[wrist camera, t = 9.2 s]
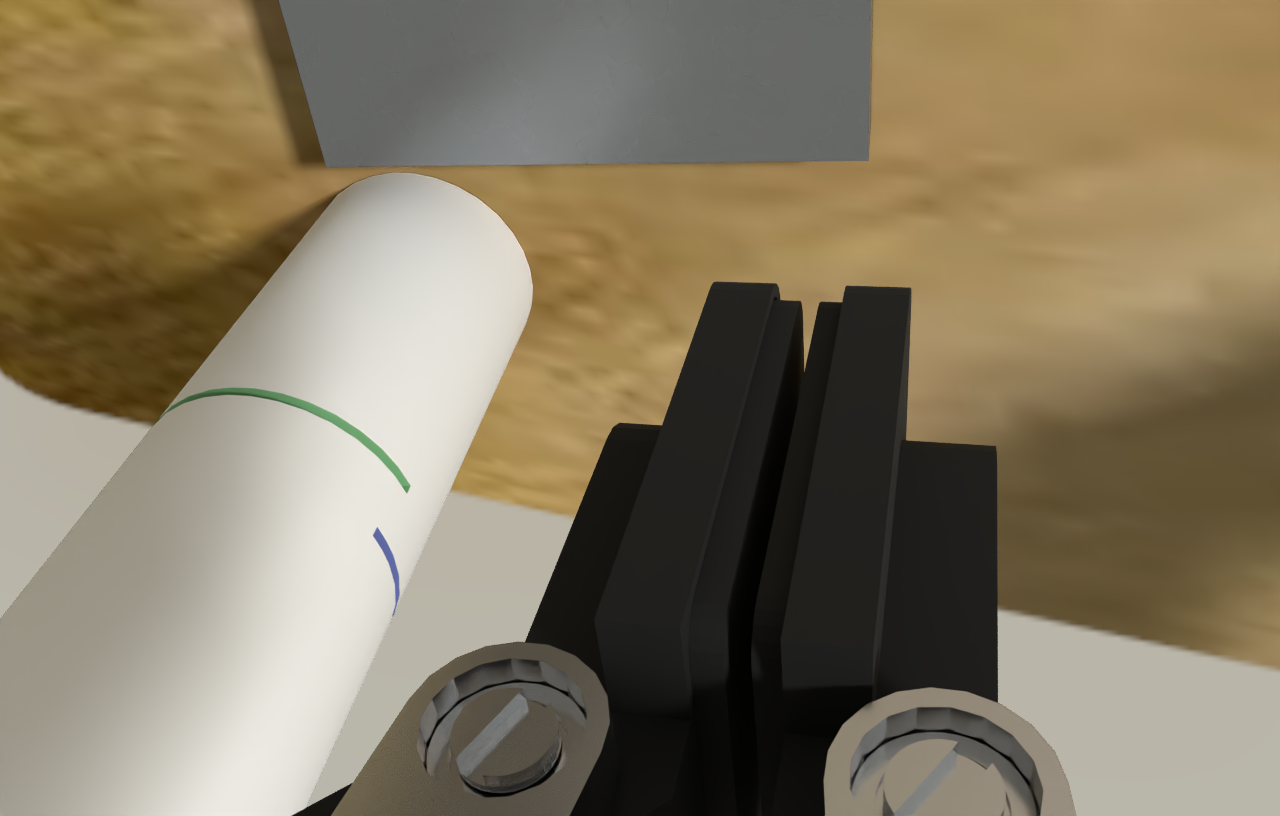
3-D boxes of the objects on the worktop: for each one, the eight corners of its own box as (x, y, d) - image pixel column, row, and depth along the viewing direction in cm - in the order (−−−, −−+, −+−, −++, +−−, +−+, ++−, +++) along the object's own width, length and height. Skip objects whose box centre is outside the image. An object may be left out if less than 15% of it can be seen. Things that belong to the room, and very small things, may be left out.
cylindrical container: (355, 369, 41) (-151, 1187, 21) (283, 180, 36) (-428, 987, 17) (553, 363, 39) (199, 1246, 20) (503, 164, 35) (-13, 1041, 15)
